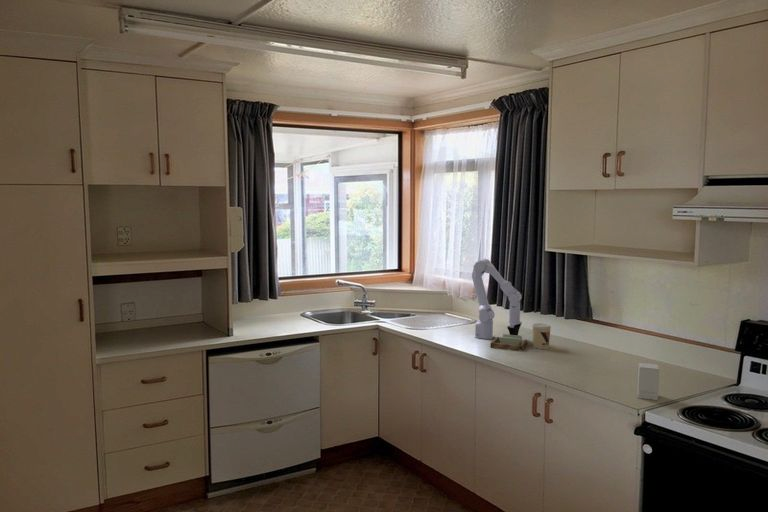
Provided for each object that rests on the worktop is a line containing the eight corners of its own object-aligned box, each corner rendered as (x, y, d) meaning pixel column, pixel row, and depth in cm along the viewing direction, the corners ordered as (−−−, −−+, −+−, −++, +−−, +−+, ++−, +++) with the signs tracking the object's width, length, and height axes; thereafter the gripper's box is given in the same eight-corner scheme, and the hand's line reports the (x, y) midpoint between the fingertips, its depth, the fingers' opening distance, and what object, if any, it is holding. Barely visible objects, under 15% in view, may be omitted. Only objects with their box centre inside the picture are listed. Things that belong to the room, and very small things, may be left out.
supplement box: (658, 400, 237) (659, 369, 236) (637, 398, 240) (638, 367, 239) (657, 394, 244) (658, 364, 243) (637, 392, 247) (638, 362, 246)
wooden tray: (490, 347, 319) (490, 342, 319) (497, 341, 333) (497, 336, 333) (521, 350, 313) (521, 346, 312) (527, 344, 327) (527, 339, 326)
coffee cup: (542, 350, 314) (543, 327, 312) (528, 347, 321) (528, 324, 320) (553, 347, 320) (554, 325, 318) (538, 344, 327) (539, 322, 326)
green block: (499, 345, 325) (500, 337, 324) (503, 341, 332) (503, 333, 332) (518, 347, 321) (518, 339, 320) (521, 343, 328) (521, 335, 328)
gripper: (519, 316, 325) (518, 341, 326) (524, 312, 338) (523, 335, 339) (506, 315, 327) (505, 340, 329) (511, 311, 341) (511, 334, 342)
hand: (514, 338), depth 334 cm, fingers open, 7 cm apart
